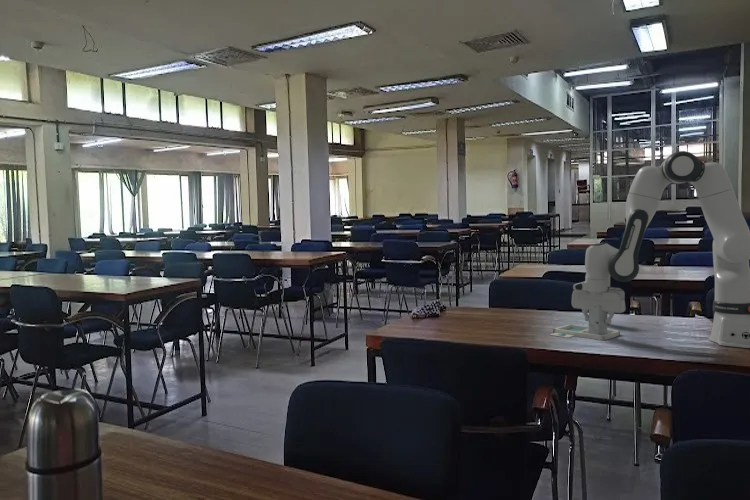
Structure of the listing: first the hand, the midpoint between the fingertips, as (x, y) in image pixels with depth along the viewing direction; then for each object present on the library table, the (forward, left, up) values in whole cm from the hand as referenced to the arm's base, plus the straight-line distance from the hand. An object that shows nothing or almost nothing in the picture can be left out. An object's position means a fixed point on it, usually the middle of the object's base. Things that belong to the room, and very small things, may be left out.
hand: (597, 322), depth 224 cm
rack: (+5, +2, -5) cm, 8 cm away
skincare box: (0, 0, -5) cm, 5 cm away
